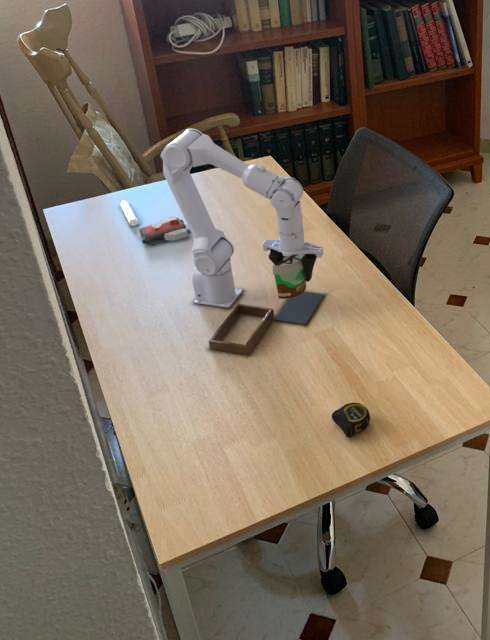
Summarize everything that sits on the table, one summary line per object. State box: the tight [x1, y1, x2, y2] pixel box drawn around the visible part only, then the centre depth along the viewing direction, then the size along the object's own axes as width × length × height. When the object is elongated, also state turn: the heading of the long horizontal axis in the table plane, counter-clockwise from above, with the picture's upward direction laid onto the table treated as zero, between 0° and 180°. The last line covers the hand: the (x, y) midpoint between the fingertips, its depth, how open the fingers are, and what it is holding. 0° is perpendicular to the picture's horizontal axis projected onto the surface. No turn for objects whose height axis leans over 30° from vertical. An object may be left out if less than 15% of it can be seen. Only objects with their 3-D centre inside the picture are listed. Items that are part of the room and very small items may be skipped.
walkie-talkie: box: [138, 216, 192, 245], centre depth 227 cm, size 9×4×20 cm
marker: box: [119, 200, 139, 227], centre depth 238 cm, size 3×2×16 cm
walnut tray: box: [208, 303, 276, 356], centre depth 188 cm, size 9×15×2 cm, turn 167°
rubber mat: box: [274, 291, 325, 326], centre depth 198 cm, size 8×13×1 cm, turn 167°
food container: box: [272, 254, 307, 300], centre depth 192 cm, size 12×6×10 cm, turn 168°
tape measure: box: [331, 402, 371, 439], centre depth 162 cm, size 7×7×4 cm
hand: (296, 277), depth 193 cm, fingers closed on food container, 6 cm apart
